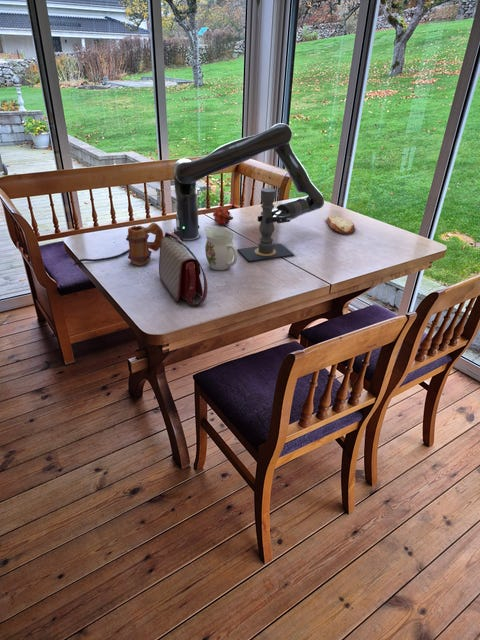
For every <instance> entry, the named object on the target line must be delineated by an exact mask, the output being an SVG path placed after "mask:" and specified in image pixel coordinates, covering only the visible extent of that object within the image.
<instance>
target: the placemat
mask: <svg viewBox="0 0 480 640" xmlns="http://www.w3.org/2000/svg"><path fill="white" fill-rule="evenodd" d="M236 249H237V253H238V254H240V255H241V256H242V257H243V258H244V259H245V260H246V261H247V262H248V263H253V262H260V261H267V260H274V259H281V258H282V259H283V258H289V257H294V256H295V254H294V253H293V252H292V251H290V250H289V249H288V248H287V247H285V246H284V245H283V244H281V243H274V246H273V252H271V253H261V252H259V246H252V247H243V248H236Z"/></svg>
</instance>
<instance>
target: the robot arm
mask: <svg viewBox="0 0 480 640" xmlns="http://www.w3.org/2000/svg"><path fill="white" fill-rule="evenodd" d="M292 139H293V131H292V128H291V126H290V125H288V124H286V123H284V122H283V123H276V124H274V125H273V126H271V127H270V128H268V129H266V130H263V131H262V132H260V133H256V134H255V135H250V136H246V137H242V138H239V139H236V140H233V141H230V142H228V143H225V144H223V145H220V146H219V147H217V148H216V149H213V151H212V152H210V153H209V154H207V155H206V156H203V157H201V158H198V159H195V160H194V159H193V160H190V159H188V158H181V159H179V160H177V161H176V162H175V163H174V166H173V181H174V183H173V184H174V193H175V205H176V206H175V208H176V215H175V225H176V226H175V227H173V231H172V232H173V233H174V234H175V235H176V236H178V237H179V238H180V240H181V241H194V240H195V241H196V240H197V239H199V238H200V233H199V232H200V231H199V229H200V225H199V201H198V200H199V199H198V190H197V182H198V181H201V180H202V179H204V178H206V177H208V176H209V175H212V174H215V173H218V172H221V171H224V170H226V169H229V168H233V167H235V166H237V165H240V164H243V163H245V162H247V161H249V160H252V159H253V158H255V157H257V156H259V155H261V154H262V153H264V152H267V151H271V150H274V152H275V153H276V155H277V156H278V158H279V159H280V161H281V162H282V164H283V166H284V168H285V170H286V171H287V173H288V176H289V178H290V180H291V181H292V184H293V186H294V187H295V190H296V192H298V193H299V194H306V196H303V197H302V198H296V199H294V200H289V201H286V202H283V203H279V204H278V205H277V206H276V208H273V209H272V217H270V218H266V220H265V223H266V224H269V223H272V222H273V224H275V223H277V224H284V223H289V222H291V221H292V220H294V219H297V218H299V217H302V216H303V215H305V214H307V213H311V212H314V211H317V210H320V209H321V208H323V207H324V205H325V199H324V195H323V194H322V193H321V191H320V190H319V189H318V188H317V187H316V186H315V184H313V182H312V181H311V179H310V177H309V175H308V172H307V170H306V168H305V167H304V165H303V164H302V163H301V161H300V160H299V159H298V157H297V155H296V154H295V153H294V151H293V149H292V146H291V144H290V143H291V141H292ZM262 215H263V210H262V211H260V214H259V215H258V216H257V222H259V223H261V219H262ZM153 242H154V241H148V243H153ZM127 253H130V249H129V248H128V249H127V250H125V251H123V252H121V253H119V254H116V255H113V256H107V257H101V258H81V259H78V260H76V261H75V262H74V264H73V266H77V265H78V264H79V263H80V262H81V263H82V262H101V261H107V260H112V259H117V258H120V257H122V256H124V255H126V254H127Z"/></svg>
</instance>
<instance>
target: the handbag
mask: <svg viewBox="0 0 480 640" xmlns="http://www.w3.org/2000/svg"><path fill="white" fill-rule="evenodd" d="M173 232H174V231H166V232H165V234H164V235H163V237H162V238H161V243H160V248H159V257H158V258H159V259H158V275H159V279H160V281H161V283H162V284H163V285H164V287H165V288H166V289H167V291H168V292H169V294H170V295H171V296H172V298H173V300H174V301H175V302H179V300H180V298H182V299H183V300H186V302H187V303H188V304H189V305H190V306H200V305H202V304H203V303H204V302H205V300H206V299H207V296H208V281H207V276H206V273H205V271H204V268H203V267H202V265H201V263H200V261H199V259H198V258H197V257H196V255H195V254H194V253H193V252H192V250H191V249H190V248H189V247H188V246H187V245H186V244H185V243H184V242H183V240H180V238H179V237H178V236H176V235H175V234H174V233H173ZM201 272H202V277H203V285H202V281H201V276H200V275H201ZM196 294H197V295H198V296H199V297H200V298H201V299H200V300H199V301H198V302H197V303H196V302H194V301H193V300H192V299H195V298H196Z"/></svg>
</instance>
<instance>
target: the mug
mask: <svg viewBox="0 0 480 640" xmlns="http://www.w3.org/2000/svg"><path fill="white" fill-rule="evenodd" d="M150 234H152V235H155V237H154V241H152V242H153V243H148V242H149V241H148V240H149V237H150ZM162 237H164V231H163V229H162V227H161V226H160V225H159V224H158V223H156V222H152V223H150V224H149V225H148V226H146V227H145V226H142V225H137V226H136V225H132V226H131V227H130V226H129V227H128V228H127V235H126V237H125V241H127V242H128V250H129V249H130V251H129V252H128V253H129V254H128V256H127V259H128V260H130V263H131V264H133V265H137V266H142V265H143V266H144V265H146V264H148V263H149V262H150V261H151V257H152V251H154V252H158V251H159V250H160V243H161V238H162ZM151 250H152V251H151Z"/></svg>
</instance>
